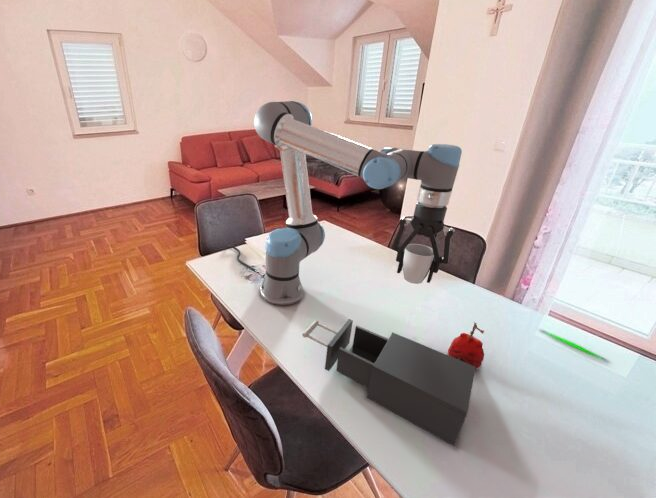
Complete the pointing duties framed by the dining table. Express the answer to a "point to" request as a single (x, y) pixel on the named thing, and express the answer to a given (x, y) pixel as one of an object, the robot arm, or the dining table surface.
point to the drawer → (351, 351)
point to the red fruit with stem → (467, 348)
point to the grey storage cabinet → (422, 386)
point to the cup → (417, 262)
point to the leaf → (574, 345)
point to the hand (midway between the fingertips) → (413, 275)
